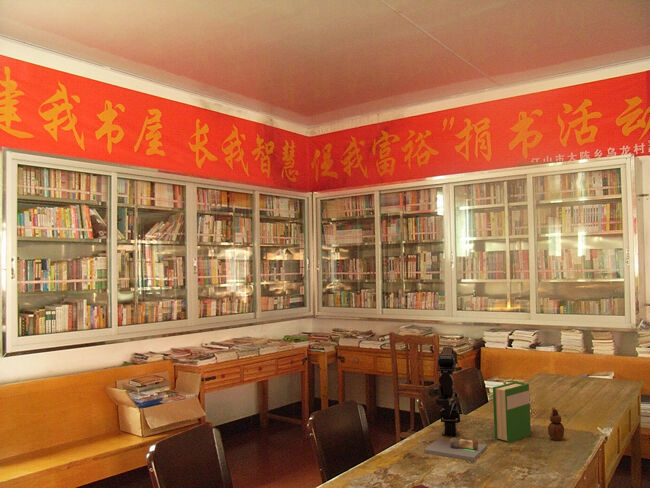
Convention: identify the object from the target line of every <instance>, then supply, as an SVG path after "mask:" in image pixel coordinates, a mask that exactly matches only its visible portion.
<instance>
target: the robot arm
mask: <svg viewBox="0 0 650 488" xmlns="http://www.w3.org/2000/svg"><path fill="white" fill-rule="evenodd" d="M458 359H459V358H458V353H457V352H456V351H455V350H454V347H451V346H444V347H443V348H442V351H441V352H440V354H439V355H438V356H437V361H436V362H437V364H436V365H437V370H436V371H437V372H440V375H439V378H438V383H439V385H438V387H434V388H433V387H432V388H430V389H428V391H427V395H428V396H429V397H430V399H432V398H434V397H437V396H438V397H437V398H436V399H435V405H436V406H441V409H440V415H439V416H440V423H443V427H444V428H443V430H444V432H442V433H441V435H442V436H444V437H446V436H447V437H451V438H456V437H457V436H458V435H459V434H460V432H459V431H457V424H460V423H461V413H460V412H459V409H458V407H457V404H456V401H457V400H455V398H456V399H458V398H460V393H459V391H458V390H454V387H455V386H456V384H455V383H454V373H455V371H456V370H457V365H458V364H459V363H458V361H459V360H458ZM454 397H455V398H454Z"/></svg>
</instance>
